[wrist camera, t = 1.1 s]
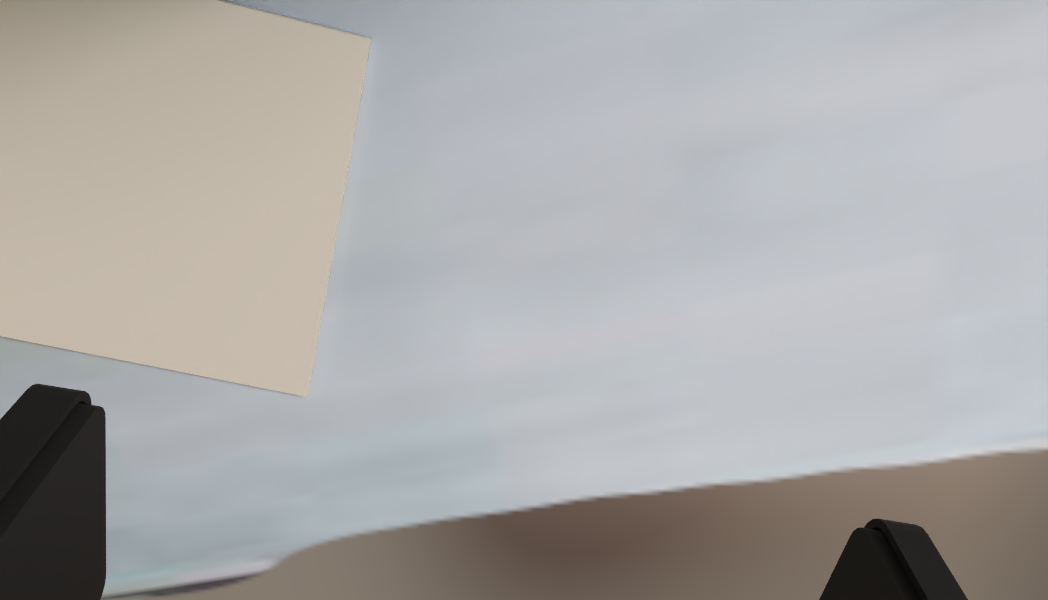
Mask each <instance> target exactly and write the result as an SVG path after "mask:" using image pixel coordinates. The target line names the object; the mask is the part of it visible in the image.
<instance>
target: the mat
mask: <svg viewBox="0 0 1048 600" xmlns="http://www.w3.org/2000/svg"><path fill="white" fill-rule="evenodd" d="M370 43H371V38H369V37H365V36H361V35H357V34H353V33H349V32H345V31H341V30H337V29H334V28H330V27H326V26H322V25H318V24H314V23H310V22H306V21H302V20H298V19H294V18H290V17H286V16H282V15H278V14H275V13H271V12H267V11H263V10H259V9H255V8H251V7H247V6H243V5H239V4H235V3H231V2H227V1H223V0H0V336H2V337H7V338H12V339H17V340H22V341H27V342H32V343H37V344H43V345H48V346H53V347H58V348H63V349H68V350H73V351H78V352H83V353H88V354H93V355H98V356H103V357H108V358H113V359H118V360H123V361H128V362H133V363H138V364H143V365H148V366H153V367H158V368H163V369H168V370H174V371H179V372H184V373H189V374H194V375H199V376H204V377H209V378H214V379H219V380H224V381H229V382H234V383H239V384H244V385H249V386H254V387H259V388H264V389H269V390H274V391H279V392H284V393H289V394H294V395H299V396H305V397H308V394H309V388H310V383H311V377H312V372H313V366H314V360H315V355H316V349H317V343H318V338H319V332H320V326H321V321H322V315H323V309H324V304H325V298H326V292H327V287H328V281H329V275H330V270H331V264H332V258H333V253H334V247H335V241H336V236H337V230H338V224H339V219H340V213H341V207H342V202H343V196H344V190H345V185H346V179H347V173H348V168H349V162H350V157H351V151H352V145H353V140H354V134H355V128H356V123H357V117H358V111H359V106H360V100H361V94H362V89H363V83H364V77H365V72H366V66H367V60H368V55H369V49H370Z"/></svg>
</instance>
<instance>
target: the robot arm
mask: <svg viewBox="0 0 1048 600" xmlns="http://www.w3.org/2000/svg"><path fill="white" fill-rule="evenodd" d="M105 579H106V447H105V411H104V409H103V408H102V407H100V406H94V405H91V398H90V396H89V394H88V393H87V392H85V391H79V390H73V389H67V388H61V387H54V386H48V385H42V384H35V385H32V386H31V387H30V388H28V389H27V390H26V391H25V392H24V394H23V395H22V396H21V397H20V398H19V399H18V400H17V401H16V403H15V404H14V405H13V406H12V407H11V408H10V409H9V410H8V411H7V413H6V414H5V415H4V416H3V417H2V418H1V419H0V600H100V599H101V596H102V593H103V589H104V585H105ZM819 600H968V599H967V598H966V596H965V594H964V593H963V591H962V590H961V588H960V586H959V585H958V583H957V581H956V580H955V578H954V576H953V575H952V573H951V572H950V570H949V568H948V567H947V565H946V563H945V562H944V560H943V559H942V557H941V555H940V554H939V552H938V550H937V549H936V547H935V546H934V544H933V542H932V541H931V539H930V537H929V536H928V534H927V533H926V532H925V531H924V529H923V528H921V527H920V526H917V525H914V524H908V523H901V522H894V521H889V520H882V519H872V520H871V521H870V522H868V523H867V524H866V526H865V527H864V528H857V529H856V530H854V531H853V533H852V535H851V536H850V538H849V540H848V542H847V544H846V546H845V548H844V550H843V552H842V554H841V556H840V558H839V561H838V563H837V565H836V567H835V569H834V571H833V573H832V575H831V577H830V579H829V581H828V583H827V585H826V587H825V589H824V591H823V594H822V595H821V597H820V599H819Z"/></svg>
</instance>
